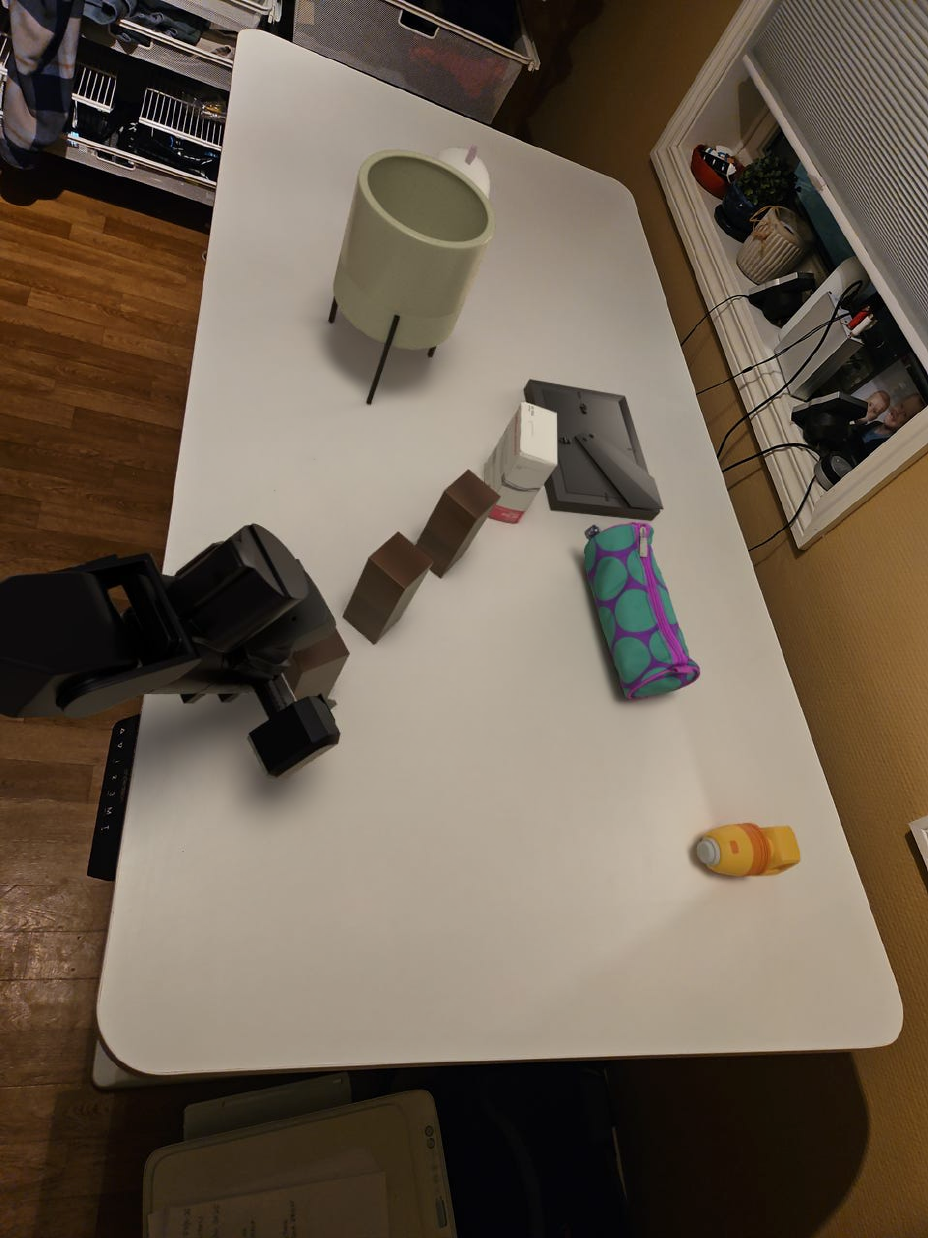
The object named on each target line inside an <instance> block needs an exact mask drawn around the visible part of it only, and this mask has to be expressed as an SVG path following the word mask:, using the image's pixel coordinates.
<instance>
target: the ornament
mask: <svg viewBox="0 0 928 1238" xmlns="http://www.w3.org/2000/svg"><path fill="white" fill-rule="evenodd" d="M478 148H479V147H478V146H476V145H474V144H472V145H471V146H470V147H469V150H468V149H466V148H463V147H458V146H457V147H448V148H445V149H442V150H441V151H439V152H437V153H436V154H435V155H434V156H432V157H433V158H436V159H438V160H440V161H442V162H444V163H446V164H448V165H450V166H452V167H454V168H455V169H457V170H458V171H460V172H461V173H463V174H464V175H465V176H467V177H468V178H469V179H470V180H471V181H473V182H474V183H475V184H476V185H477V186H478V187H479V188H480V189H481V191H482V192H483V193H484V194H485V196H486V197H487V198H488V199H489V197H490V194H491V193H490V192H491V180H490V179H491V178H490V175H489V172H488V169H487V167H486V165H485V163H484V162H483V160H482V159H481V158H480V157H479V156H477V152H478Z"/></svg>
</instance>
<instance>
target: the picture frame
mask: <svg viewBox="0 0 928 1238" xmlns="http://www.w3.org/2000/svg"><path fill="white" fill-rule="evenodd" d="M523 393H524V394H523V395H524V398H525V402H526V403H529V404H532V405H535V406H538V407H541V408H544V409H547V410H550V411H553V412H556V413H557V466H556V467H555V468H554V470H553V471H552V473H551V474H550V476H549V477H548V478H547V480H546V481H545V483H544V488H545V492H546V497H547V500H548V505H549V510H550V511H555V512H564V513H576V514H584V515H585V514H586V515H596V516H605V517H613V518H623V519H624V518H625V519H634V520H644V521H653V520H654V519H655V518H656V517H657V516H659V514H660V513H661V510H663V511H664V508H665V507H664V506H663V502H662V498H661V495H660V492H659V489H658V485H657V483H656V479H655V478H654V477H653V476H652V475H651V474H650V473H649V469H648V465H647V463H646V460H645V456H644V453H643V449H642V446H641V442H640V440H639V436H638V433H637V430H636V427H635V424H634V420H633V417H632V413H631V411H630V407H629V404H628V401H627V397H626V395H624V394H617V393H611V392H607V391H600V390H595V389H589V388H584V387H577V386H572V385H566V384H561V383H560V384H559V383H554V382H548V381H542V380H538V379H537V380H536V379H531V378H529V379H528V381H527V383H526V384H525V386H524V388H523Z"/></svg>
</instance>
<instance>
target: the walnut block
mask: <svg viewBox="0 0 928 1238" xmlns="http://www.w3.org/2000/svg"><path fill="white" fill-rule="evenodd" d="M415 545H416V544H414V543H413V542H412V541H411V540H409V539H408V538H407V537H406V536H405V535H403V533H401V532H400V531H399V530H398V531H396V532H395V533H394V534H393V535H392V536H391V537H390V538H389V539H387V540H386V541H385V542H384V543H383V544H382V545H381V546H380V547H379V548H377V549H376V550H375V551H373V553H372V554H371V555H369V556H368V557H367V560H366V562H365V564H364V567H363V569H362V571H361V573H360V576H359V578H358V580H357V582H356V585H355V587H354V590H353V592H352V594H351V596H350V599H349V601H348V603H347V605H346V608H345V610H344V612H343V615H342V618H343V620H345V621H347V623H349V624H350V625H351V626H352V627H353V628H355V630H357V631H358V632H359V633H360V634H361V635H362V636H364V637H365V638H366V639H367V641H369V642H370V643H372V644H373V645H376V644H377V643H378V642H379V641H380V640H381V639H382V638H383V637H384V636H385V635H386V634H388V632H389V631H390V630H391V629H392V628H393V627H394V626H395V625H396V624H397V623H398V622H399V621H400V620H401V618H402V617H403V615H404V613H405V612H406V610H407V608H408V607H409V605H410V603H411V601H412V600H413V597H414V596H415V595H416V593H417V591H418V589H419V588H420V586H421V585H422V583H423V581H424V579H425V578H426V576H427V575H428V573H429V571H430V567H431V566H432V564H433V562H434V561H433V560H431V559H430V558H429V557H428V556H427V555H426V554H424V553H423V552H422V551H421V550H420V549H419V548H417V547H416V546H415Z"/></svg>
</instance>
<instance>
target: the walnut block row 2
mask: <svg viewBox="0 0 928 1238" xmlns="http://www.w3.org/2000/svg"><path fill="white" fill-rule="evenodd" d="M500 497H501V496H500V495H499V494H497V493H496V492H495V491H494V490H493V489H492V488H490V487H489V486H488V485H487V484H486V483H484V480H482V479H481V478H480V477H479V476H478V475H476V474H475V473H474V472H473V471H472V470H470V469H467V470H466V471H465V472H463V473H462V474H461V475H459V476H458V477H457V478H456V479H455V480H454V481H453V482H452V483H451V484H450V485H448V486H447V487H446V488H445V489H444V490H443V492H442V493H441V495H440V497H439V499H438V501H437V502H436V504H435V507H434V508H433V511H432V512H431V514H430V517H429V518H428V519H427V522H426V524H425V526H424V528H423V530H422V531H421V533H420V535H419V537H418V539H417V541H416V542H415V544H414V545H415V546H416V547H417V548H419V549H420V550H421V551H422V552H423V553H424V554H426V555H427V556H428V557H429V558H430V559H431V560H433V561H434V562H433V564H432V566H431V567H430V569H429V571H431V572H432V573H433V574H435V576H437V577H438V578H439V579H442V578H443V577H444V576H445V574H447V573H448V572H449V571H450V570H451V569H452V568H453V567H454V566H455V565H456V564H457V563H458V562H459V561H460V560H461V559H462V558H463V557H464V555H465V554H466V552H467V550H468V549H469V547H470V545H471V544H472V542H473V541H474V539H475V538H476V536H477V535H478V533H479V531H480V530H481V529H482V527H483V525H484V523H485V522H486V521H487V519H488V518H489V517H488V516H489V514H490V513H491V511H492V510H493V508H494V507H495V505H496V504H497V502H498V500H499V499H500Z"/></svg>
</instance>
